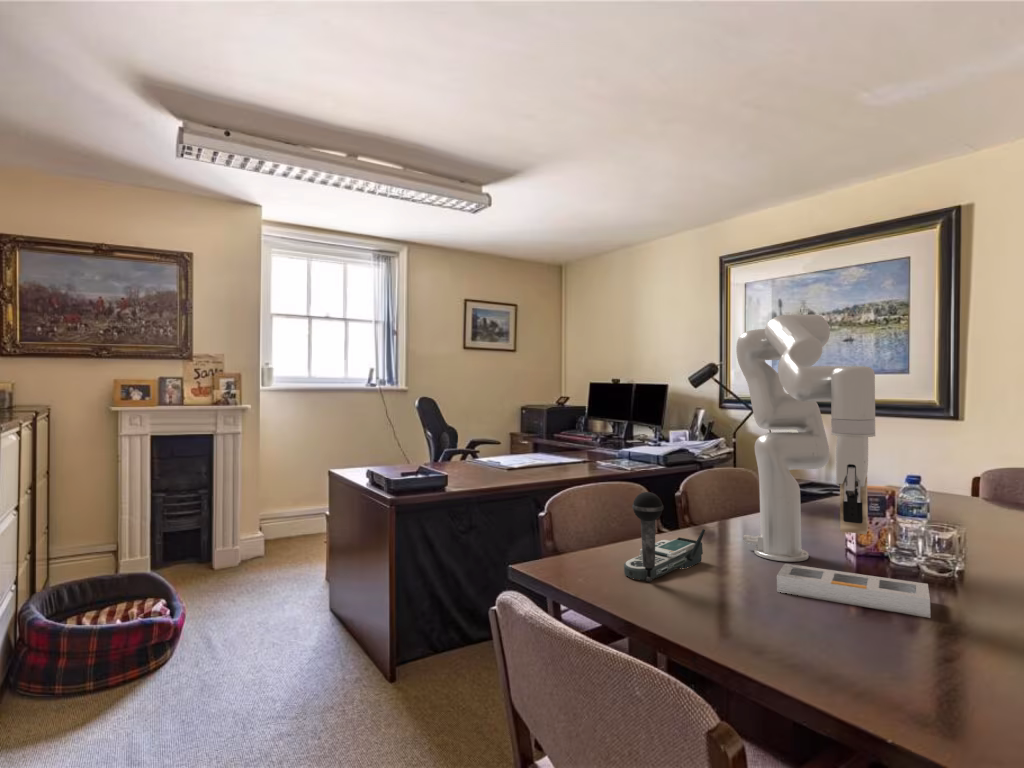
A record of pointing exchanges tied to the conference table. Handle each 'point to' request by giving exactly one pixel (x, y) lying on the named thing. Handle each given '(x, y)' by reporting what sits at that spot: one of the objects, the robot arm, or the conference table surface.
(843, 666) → the conference table surface
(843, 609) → the conference table surface
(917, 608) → the white slotted block
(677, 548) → the communication device
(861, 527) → the peg
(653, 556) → the microphone
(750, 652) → the conference table surface
